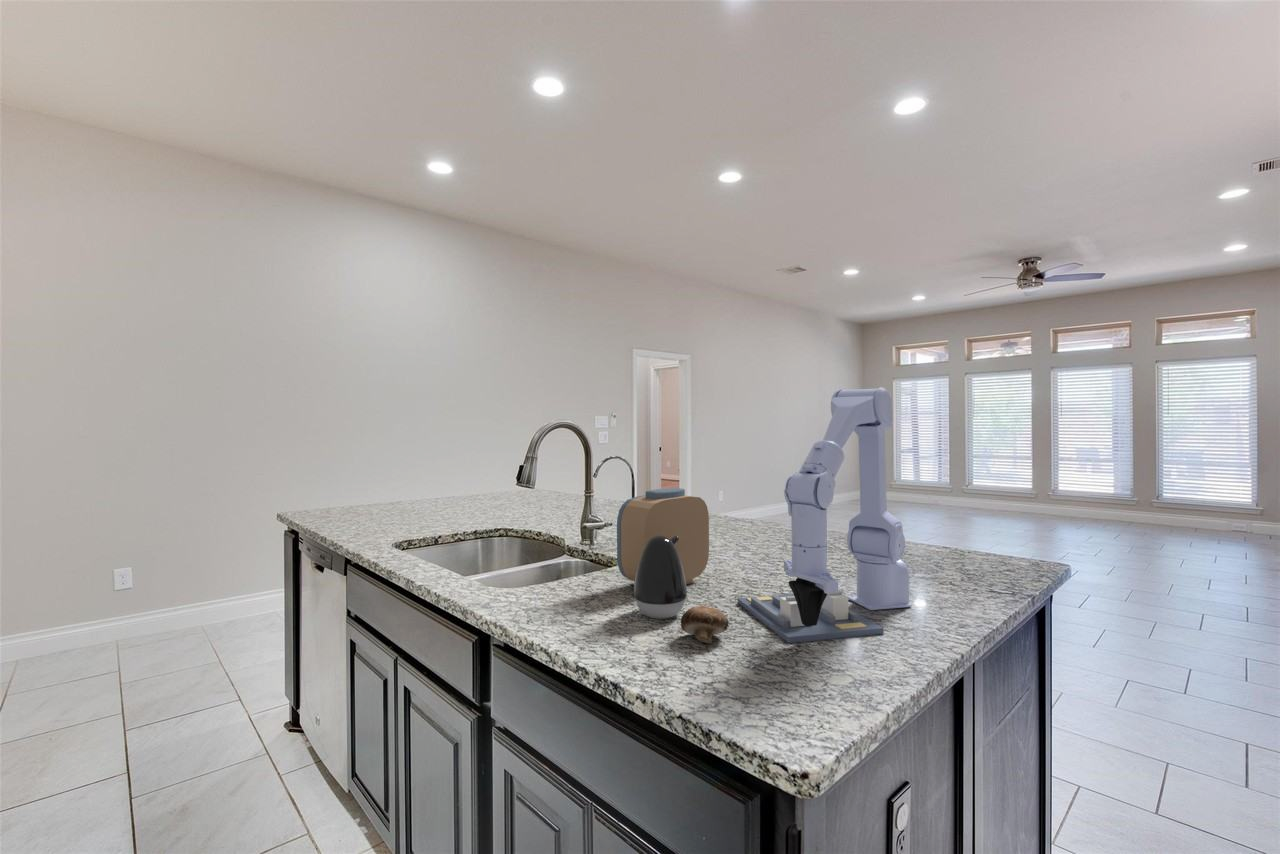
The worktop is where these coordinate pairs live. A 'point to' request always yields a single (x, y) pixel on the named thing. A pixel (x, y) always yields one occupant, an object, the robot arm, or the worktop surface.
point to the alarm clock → (663, 529)
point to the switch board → (825, 628)
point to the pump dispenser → (660, 579)
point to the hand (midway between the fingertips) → (809, 624)
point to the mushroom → (704, 622)
